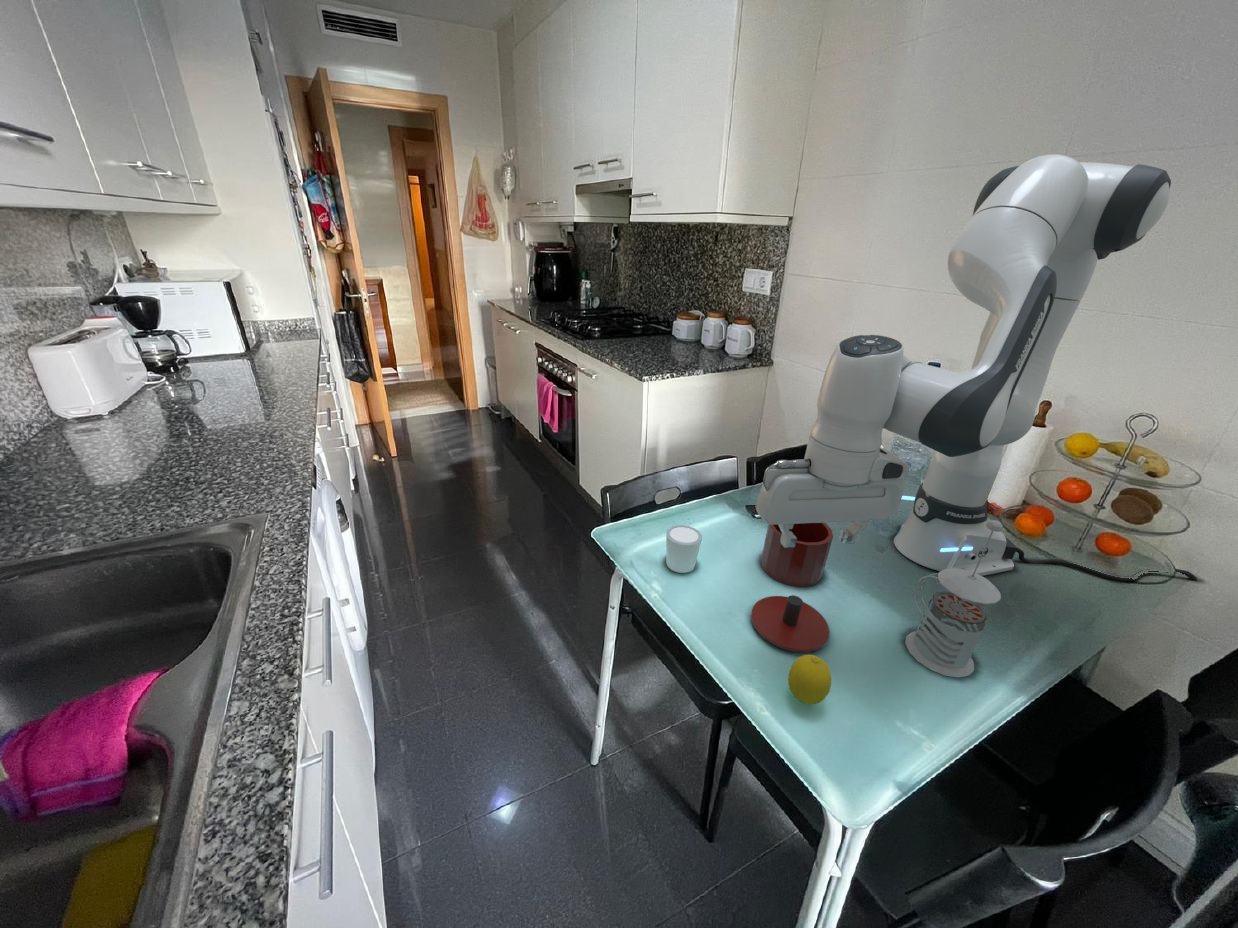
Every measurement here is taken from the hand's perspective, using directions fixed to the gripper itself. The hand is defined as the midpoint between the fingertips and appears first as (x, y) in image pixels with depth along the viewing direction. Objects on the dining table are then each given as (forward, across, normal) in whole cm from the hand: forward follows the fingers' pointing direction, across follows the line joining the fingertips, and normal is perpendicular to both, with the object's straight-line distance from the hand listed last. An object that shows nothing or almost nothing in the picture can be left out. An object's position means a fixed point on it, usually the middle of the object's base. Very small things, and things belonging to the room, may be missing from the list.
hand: (816, 543), depth 74 cm
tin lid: (+18, +1, +3) cm, 19 cm away
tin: (+19, +9, +18) cm, 28 cm away
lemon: (+19, -4, -11) cm, 22 cm away
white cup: (+19, -13, +21) cm, 31 cm away
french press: (+19, +23, -5) cm, 30 cm away
